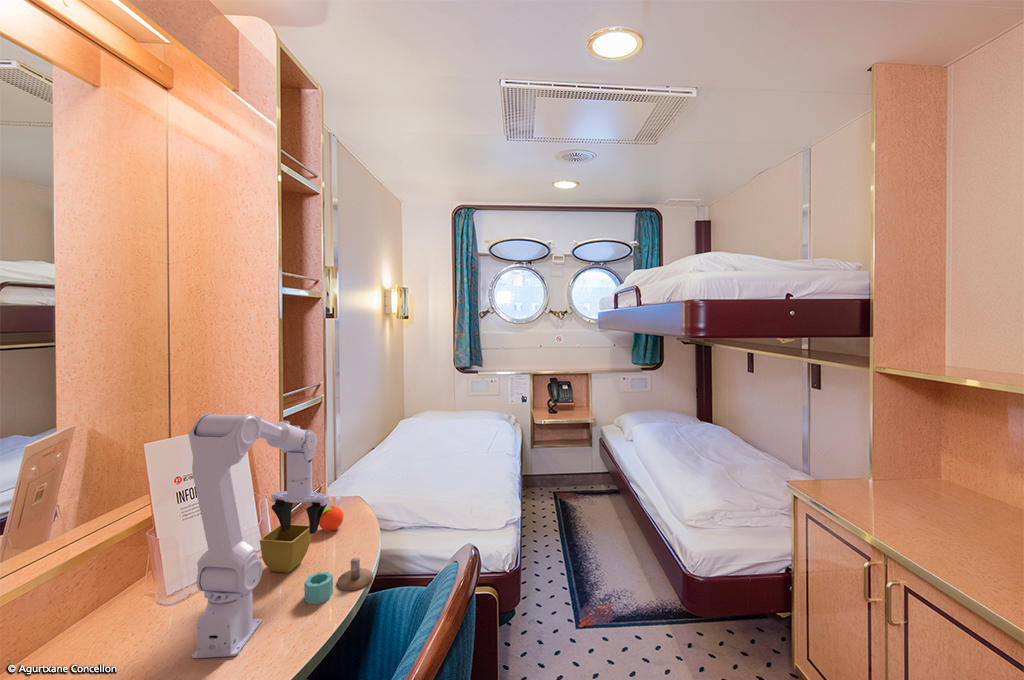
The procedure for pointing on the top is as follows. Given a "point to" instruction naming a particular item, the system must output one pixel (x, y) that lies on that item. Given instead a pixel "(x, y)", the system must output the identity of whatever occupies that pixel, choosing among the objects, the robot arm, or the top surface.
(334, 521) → the clementine
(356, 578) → the post
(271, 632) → the top surface
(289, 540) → the flower pot
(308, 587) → the collar
